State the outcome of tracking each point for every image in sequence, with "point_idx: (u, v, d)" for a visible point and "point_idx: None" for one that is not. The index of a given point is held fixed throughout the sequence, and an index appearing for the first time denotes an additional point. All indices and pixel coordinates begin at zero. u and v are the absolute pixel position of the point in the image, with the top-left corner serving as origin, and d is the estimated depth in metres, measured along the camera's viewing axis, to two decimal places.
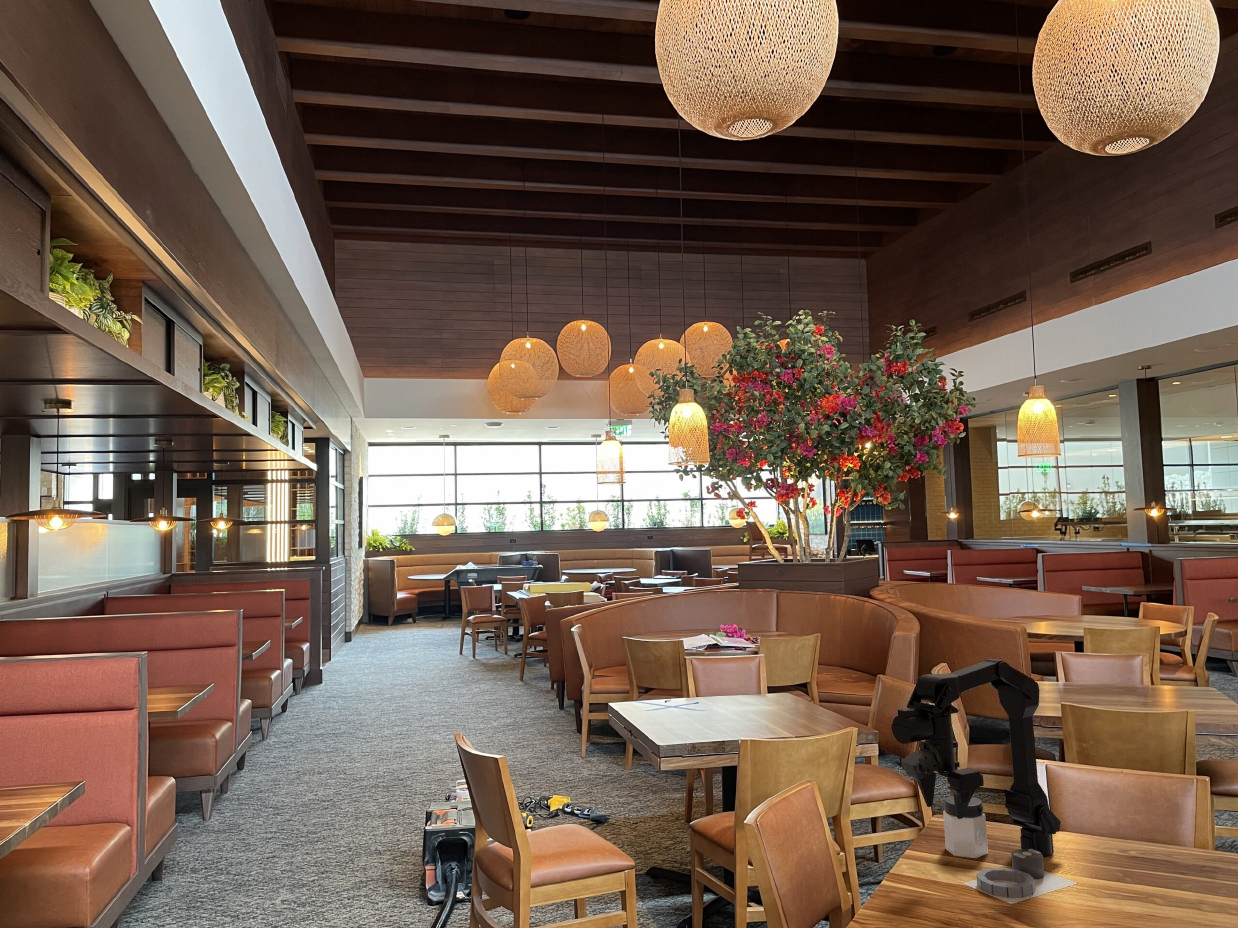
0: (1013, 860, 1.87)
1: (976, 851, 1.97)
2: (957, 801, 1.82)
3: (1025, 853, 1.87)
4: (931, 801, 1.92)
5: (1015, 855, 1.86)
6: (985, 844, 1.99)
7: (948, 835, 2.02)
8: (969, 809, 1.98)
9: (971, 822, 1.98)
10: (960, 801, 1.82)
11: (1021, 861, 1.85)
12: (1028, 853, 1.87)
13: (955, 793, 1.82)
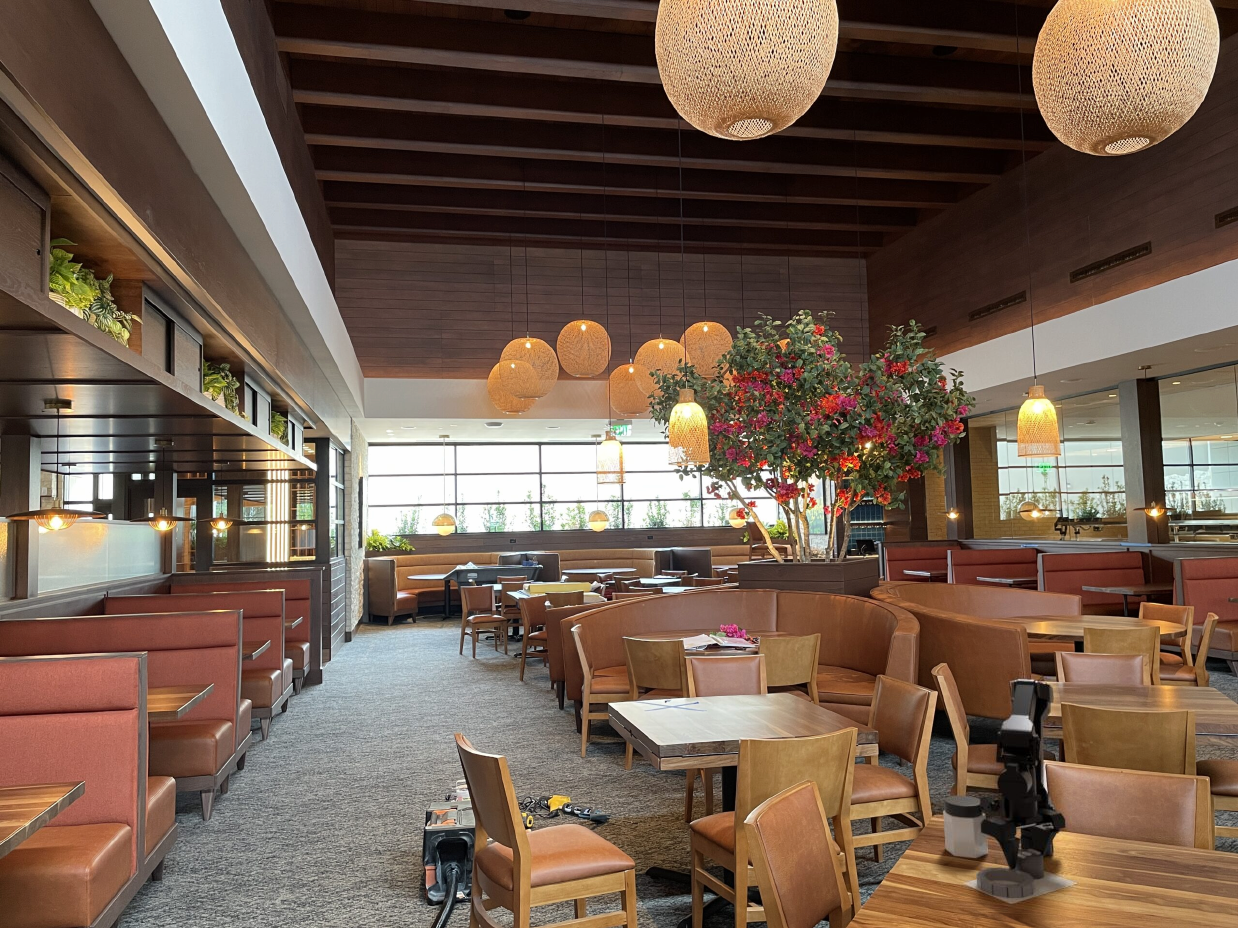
0: None
1: (976, 851, 1.97)
2: None
3: (1025, 853, 1.87)
4: None
5: None
6: (985, 844, 1.99)
7: (948, 835, 2.02)
8: (969, 809, 1.98)
9: (971, 822, 1.98)
10: (1004, 849, 1.85)
11: (1021, 861, 1.85)
12: (1028, 853, 1.87)
13: None
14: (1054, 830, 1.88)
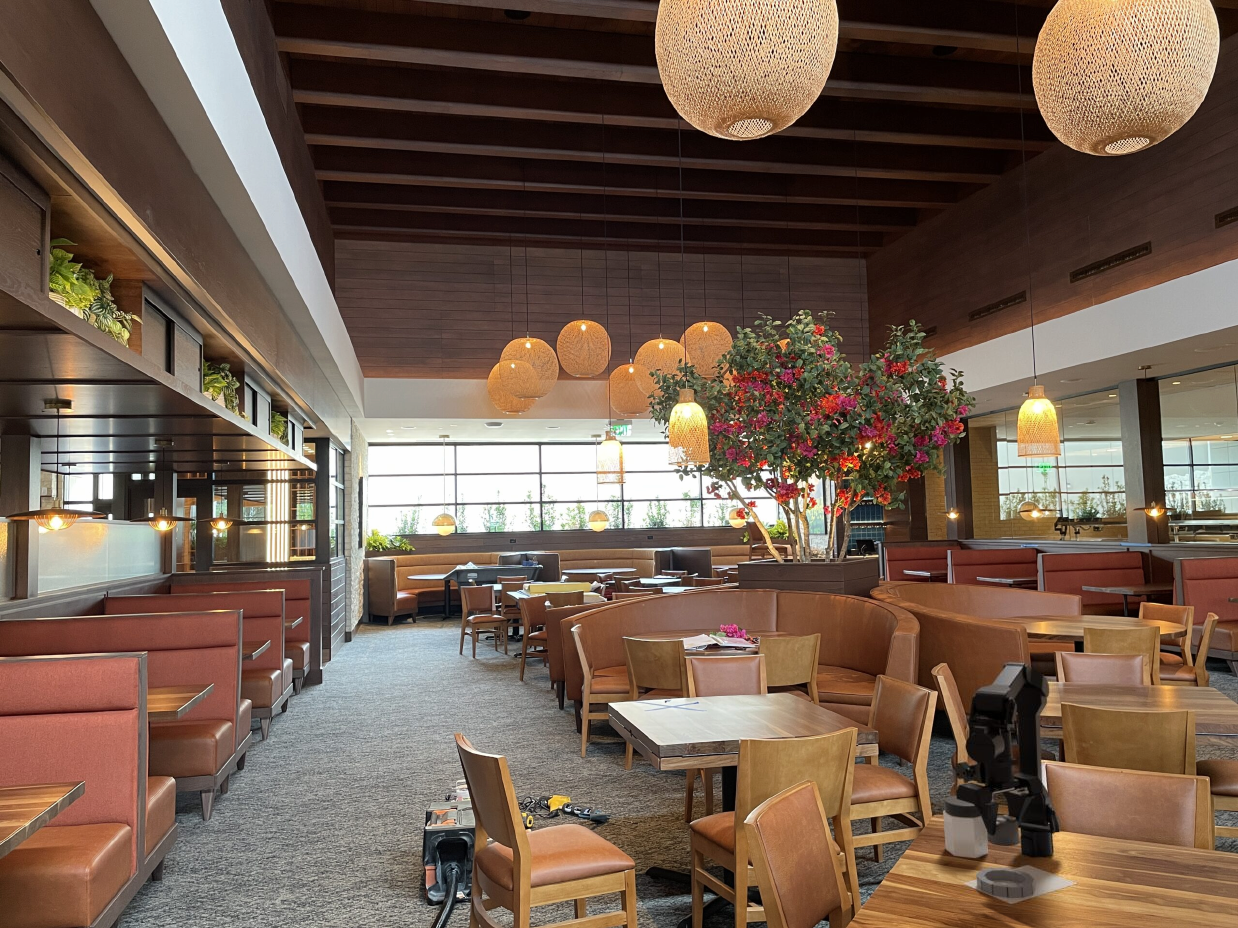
0: None
1: (976, 851, 1.97)
2: None
3: (999, 819, 1.81)
4: None
5: None
6: (985, 844, 1.99)
7: (948, 835, 2.02)
8: (969, 809, 1.98)
9: (971, 822, 1.98)
10: (982, 815, 1.80)
11: None
12: (1003, 819, 1.81)
13: None
14: (1029, 795, 1.82)
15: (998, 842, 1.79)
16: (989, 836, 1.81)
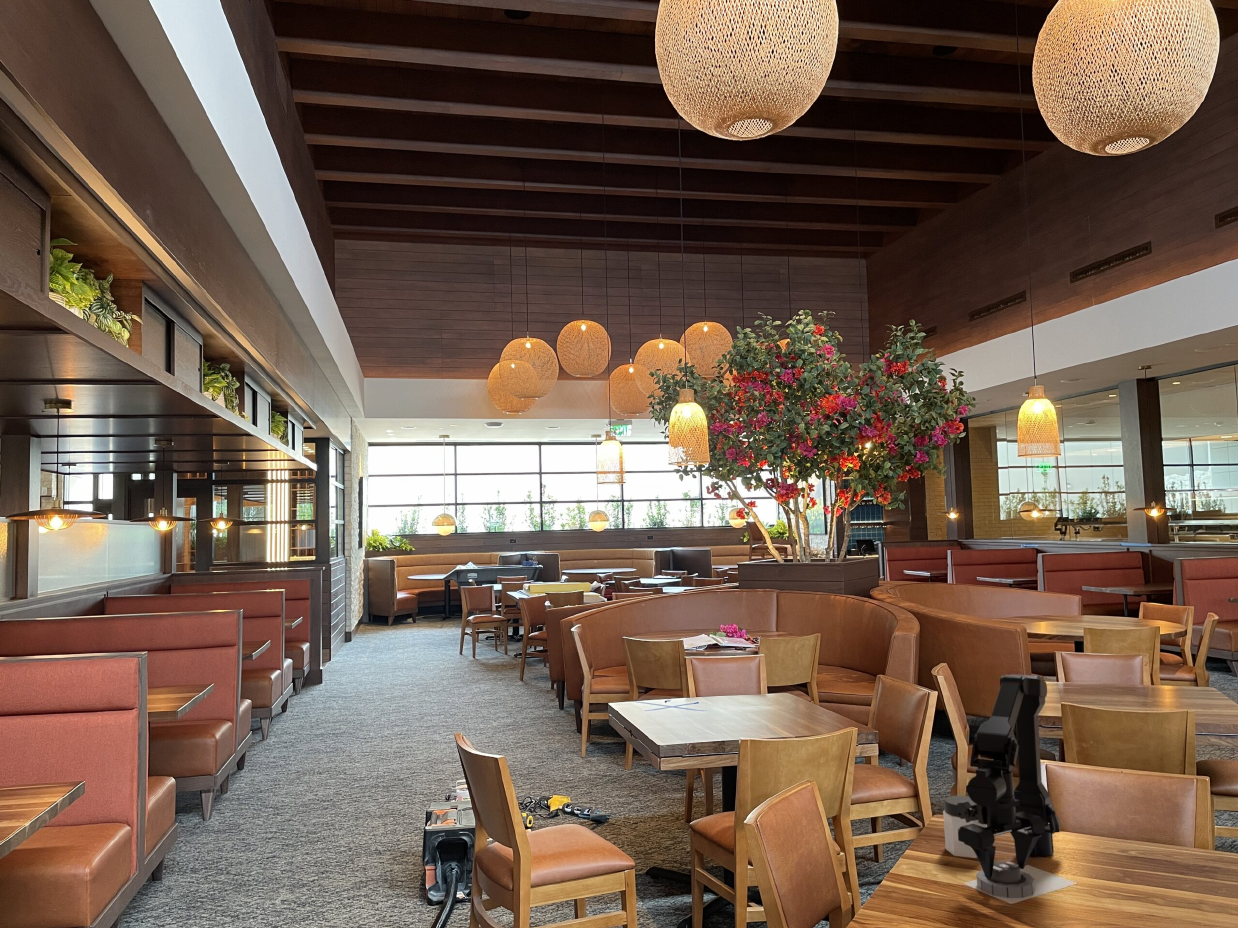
0: None
1: None
2: None
3: (1002, 866, 1.81)
4: (1021, 863, 1.82)
5: None
6: None
7: (948, 835, 2.02)
8: None
9: (971, 822, 1.98)
10: (979, 858, 1.79)
11: (997, 874, 1.79)
12: (1005, 866, 1.80)
13: None
14: (1036, 834, 1.82)
15: None
16: None
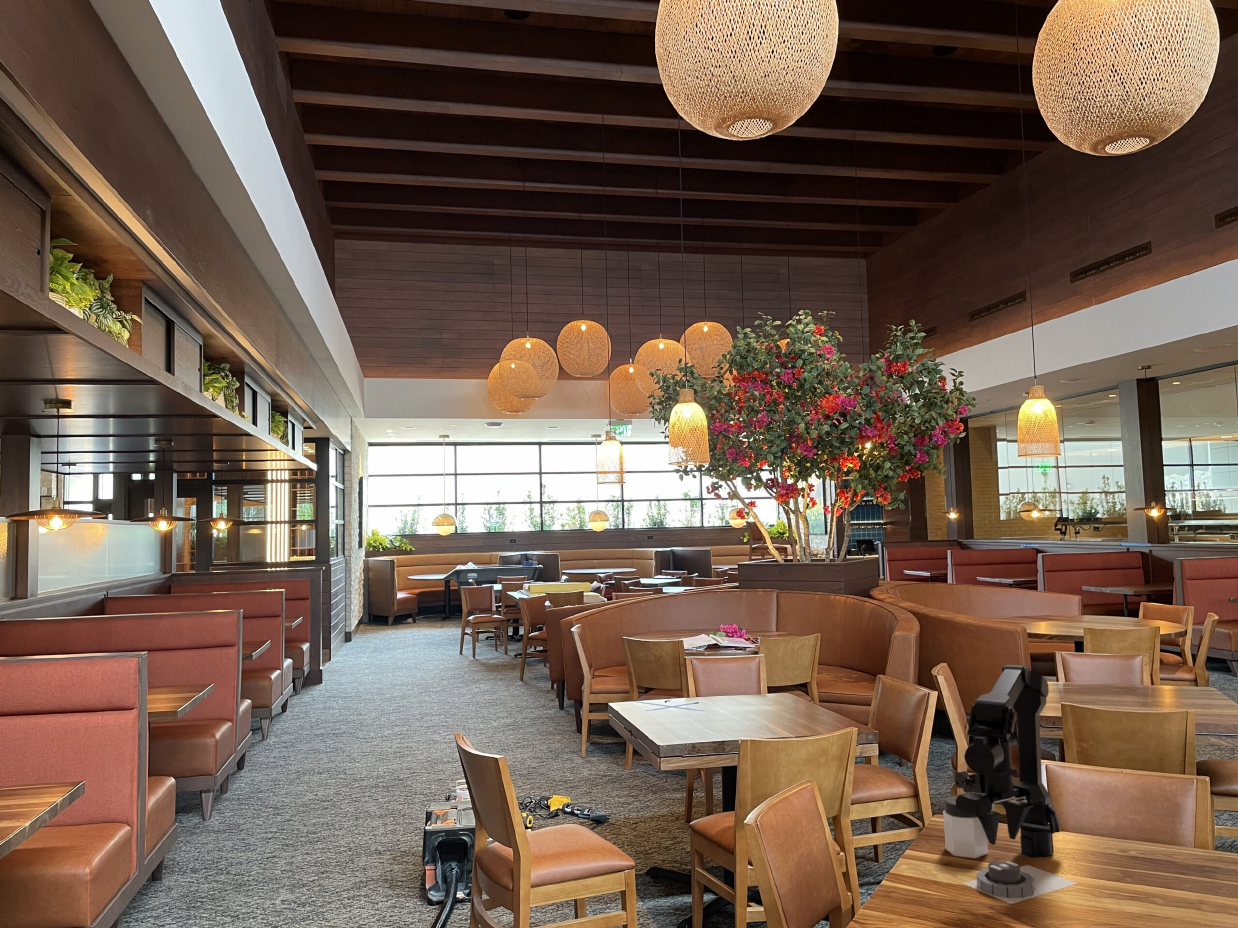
0: (990, 872, 1.81)
1: (976, 851, 1.97)
2: None
3: (1002, 865, 1.81)
4: (1013, 834, 1.82)
5: (992, 867, 1.80)
6: (985, 844, 1.99)
7: (948, 835, 2.02)
8: None
9: (971, 822, 1.98)
10: (983, 824, 1.80)
11: (998, 874, 1.79)
12: (1006, 865, 1.80)
13: None
14: (1027, 804, 1.82)
15: None
16: None
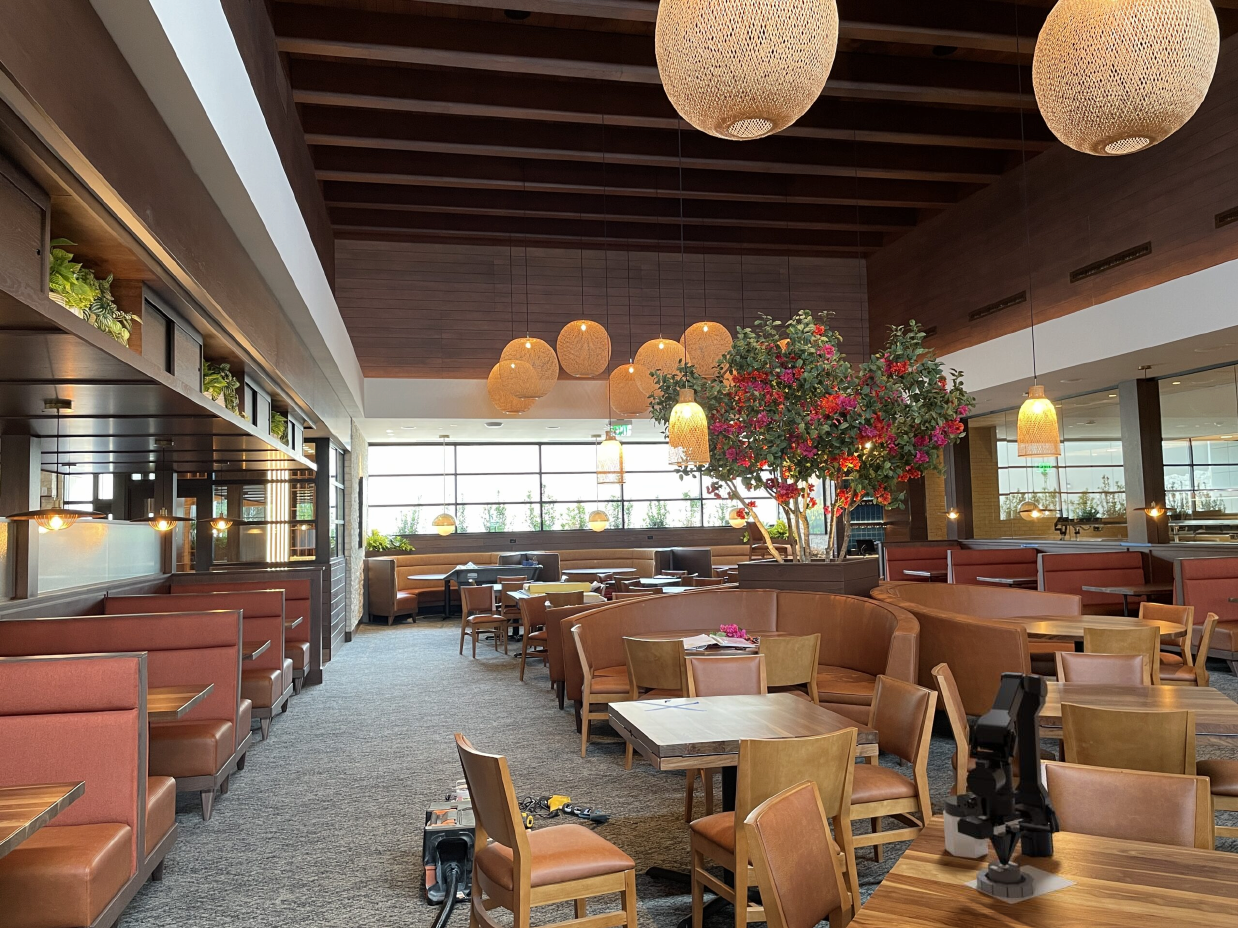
0: (990, 873, 1.80)
1: (976, 851, 1.97)
2: None
3: (1002, 866, 1.80)
4: None
5: (992, 868, 1.80)
6: (985, 844, 1.99)
7: (948, 835, 2.02)
8: None
9: None
10: (995, 845, 1.81)
11: (998, 875, 1.78)
12: (1005, 866, 1.80)
13: None
14: (1020, 830, 1.80)
15: None
16: None
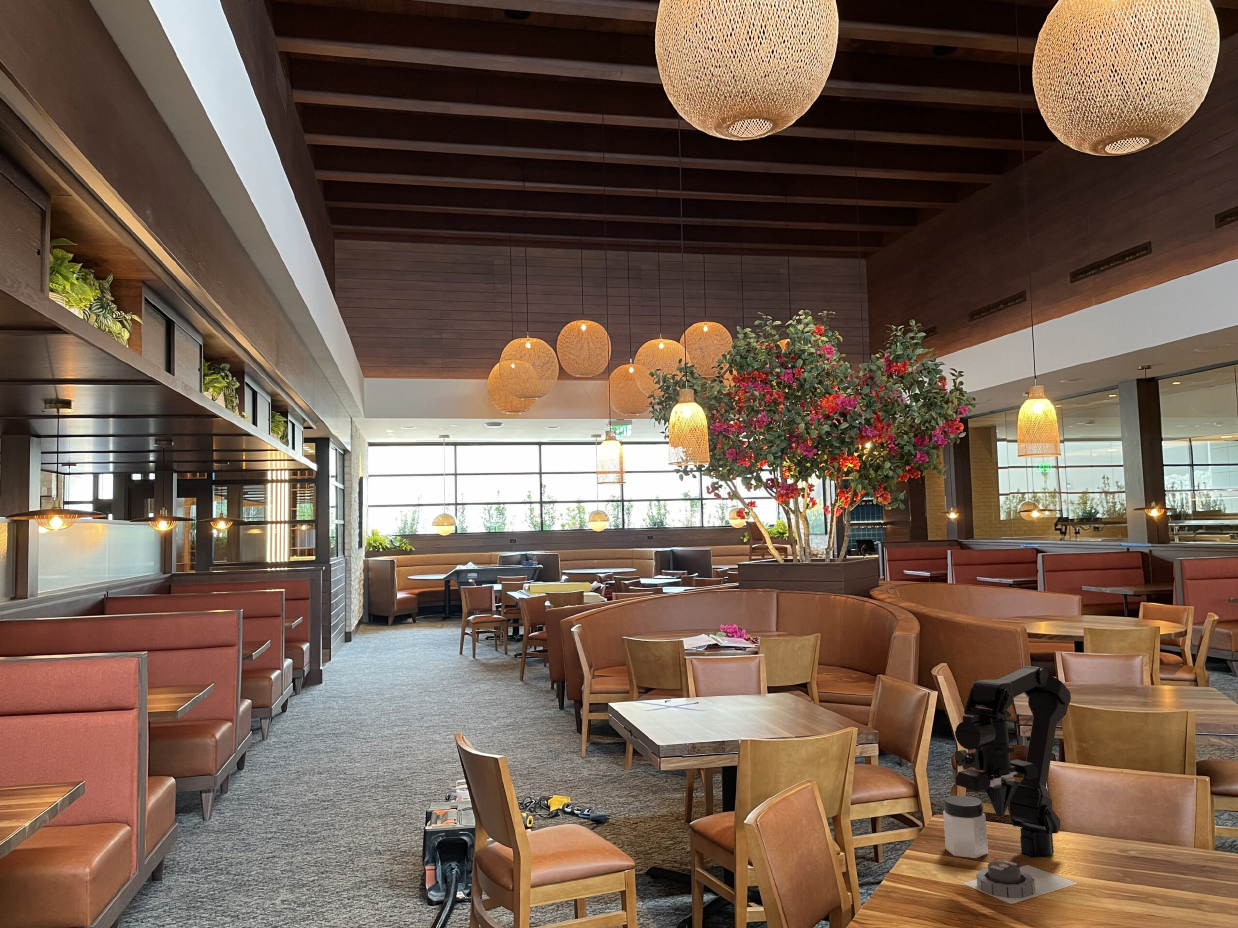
0: (990, 873, 1.80)
1: (976, 851, 1.97)
2: None
3: (1002, 865, 1.81)
4: None
5: (993, 867, 1.80)
6: (985, 844, 1.99)
7: (948, 835, 2.02)
8: (969, 809, 1.98)
9: (971, 822, 1.98)
10: (991, 797, 1.91)
11: (999, 873, 1.78)
12: (1005, 865, 1.81)
13: None
14: (1015, 783, 1.90)
15: None
16: None
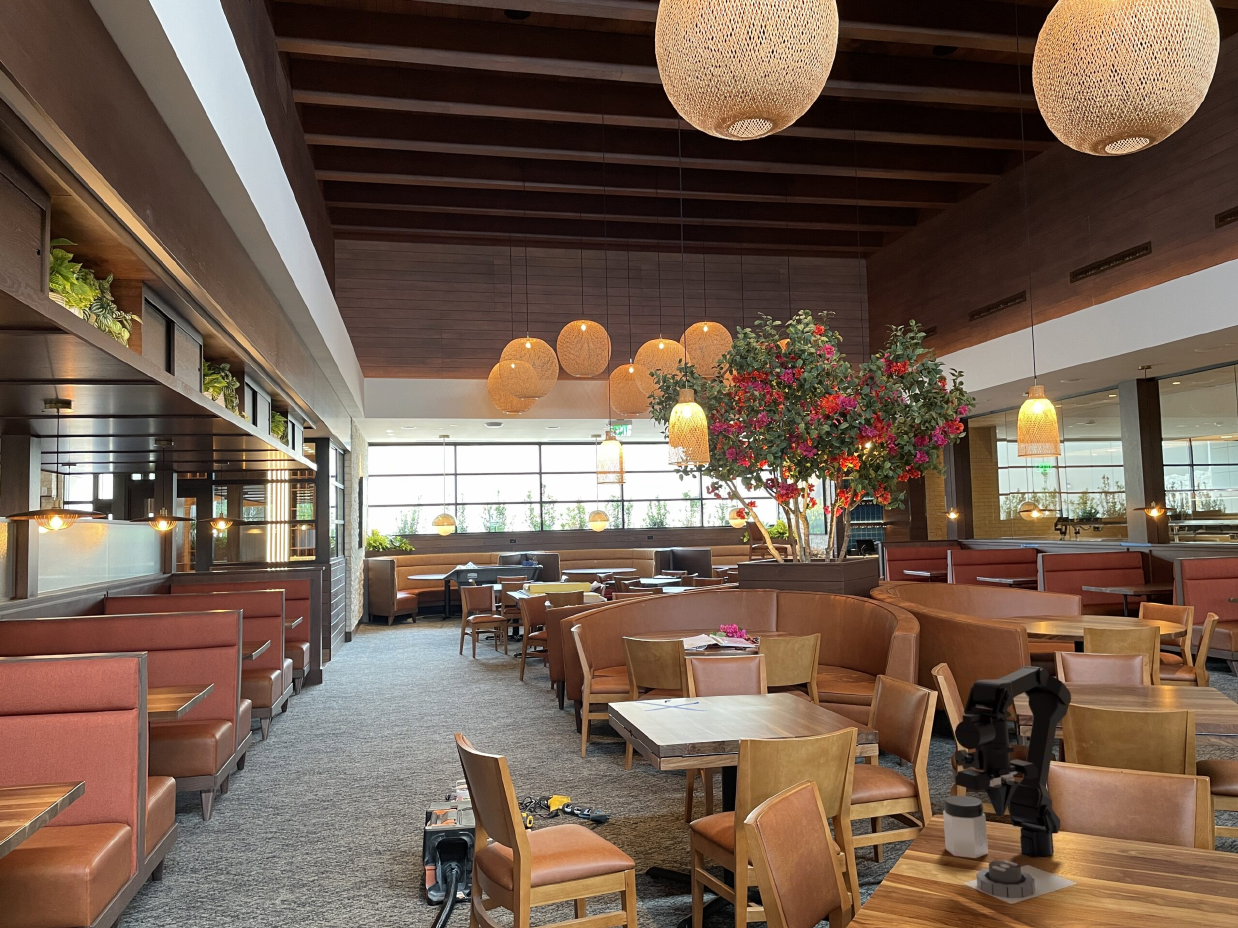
0: (992, 873, 1.80)
1: (976, 851, 1.97)
2: None
3: (1003, 865, 1.80)
4: None
5: (994, 868, 1.79)
6: (985, 844, 1.99)
7: (948, 835, 2.02)
8: (969, 809, 1.98)
9: (971, 822, 1.98)
10: (991, 797, 1.91)
11: (1001, 874, 1.78)
12: (1006, 865, 1.80)
13: None
14: (1015, 783, 1.90)
15: None
16: None
